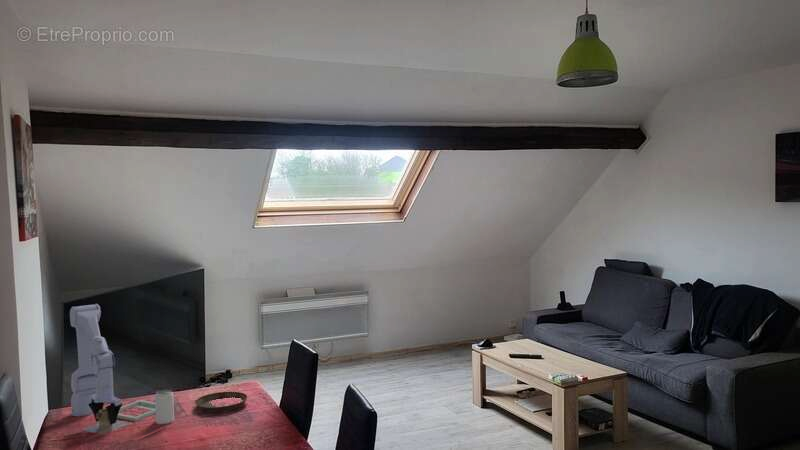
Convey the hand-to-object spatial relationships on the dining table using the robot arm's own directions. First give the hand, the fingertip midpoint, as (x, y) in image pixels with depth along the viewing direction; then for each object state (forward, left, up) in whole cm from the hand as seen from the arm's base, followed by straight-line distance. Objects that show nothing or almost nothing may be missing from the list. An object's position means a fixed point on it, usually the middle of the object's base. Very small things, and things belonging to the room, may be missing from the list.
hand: (105, 421), depth 221 cm
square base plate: (0, 0, -2) cm, 2 cm away
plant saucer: (+23, +36, -3) cm, 43 cm away
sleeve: (0, 0, -2) cm, 2 cm away
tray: (-2, +16, -2) cm, 16 cm away
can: (+16, +13, -3) cm, 21 cm away
